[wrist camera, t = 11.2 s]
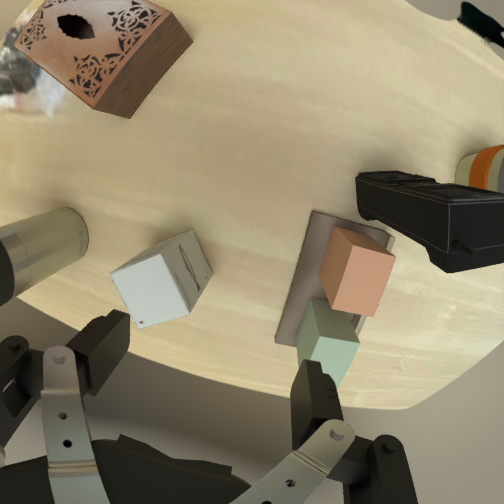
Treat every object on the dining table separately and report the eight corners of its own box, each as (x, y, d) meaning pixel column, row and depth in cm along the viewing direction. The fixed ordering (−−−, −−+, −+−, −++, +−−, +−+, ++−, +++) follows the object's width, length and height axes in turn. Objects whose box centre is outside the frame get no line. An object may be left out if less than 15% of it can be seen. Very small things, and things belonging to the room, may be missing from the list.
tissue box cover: (193, 42, 32) (171, 12, 23) (130, 119, 36) (92, 109, 27) (96, -5, 29) (67, -27, 20) (48, 57, 33) (13, 45, 23)
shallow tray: (274, 337, 44) (274, 352, 40) (312, 210, 38) (316, 215, 34) (340, 349, 43) (345, 364, 40) (385, 231, 38) (395, 237, 34)
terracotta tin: (318, 275, 39) (331, 308, 29) (333, 225, 37) (353, 245, 27) (353, 283, 39) (374, 317, 29) (369, 235, 37) (397, 257, 27)
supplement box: (214, 274, 41) (191, 316, 29) (170, 289, 43) (136, 331, 31) (194, 226, 40) (161, 252, 28) (150, 244, 41) (106, 274, 29)
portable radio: (405, 170, 35) (541, 186, 11) (407, 212, 37) (535, 270, 13) (354, 172, 36) (469, 185, 12) (357, 216, 38) (463, 289, 14)
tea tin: (295, 338, 42) (300, 382, 32) (310, 297, 40) (319, 336, 30) (328, 344, 42) (339, 387, 32) (344, 305, 40) (361, 343, 30)
